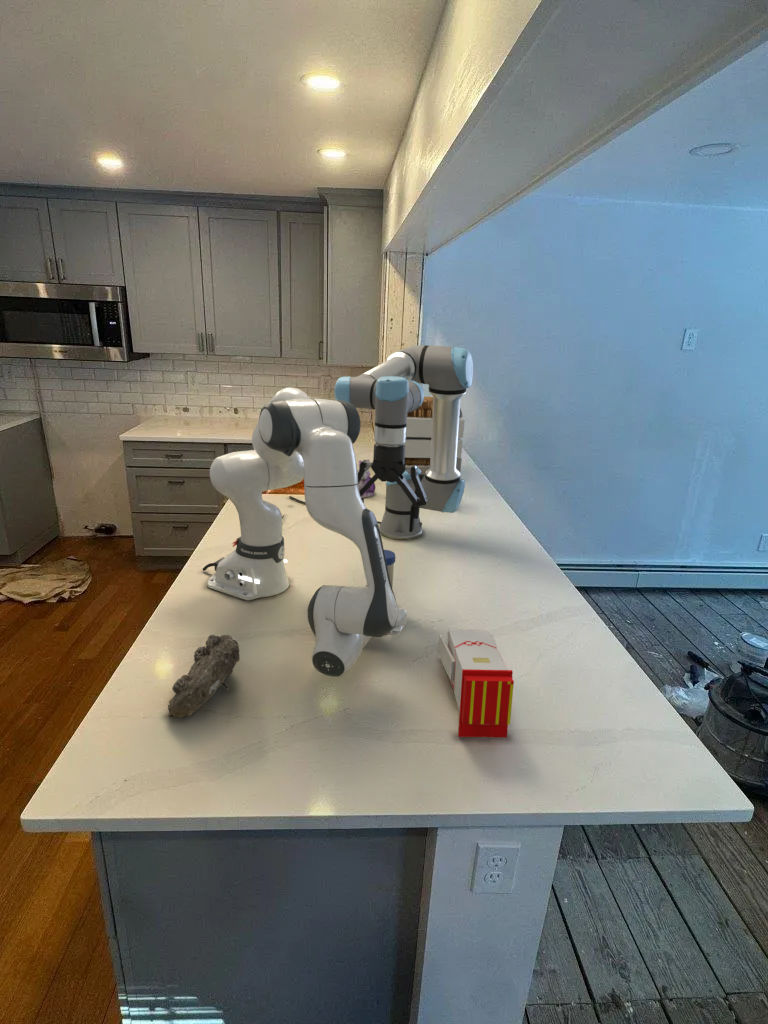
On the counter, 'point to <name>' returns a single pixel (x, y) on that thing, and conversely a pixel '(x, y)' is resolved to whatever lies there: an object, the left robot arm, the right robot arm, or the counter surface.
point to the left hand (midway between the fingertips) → (373, 599)
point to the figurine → (363, 481)
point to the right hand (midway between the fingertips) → (385, 527)
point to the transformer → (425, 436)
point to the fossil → (204, 675)
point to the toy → (478, 682)
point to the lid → (389, 557)
